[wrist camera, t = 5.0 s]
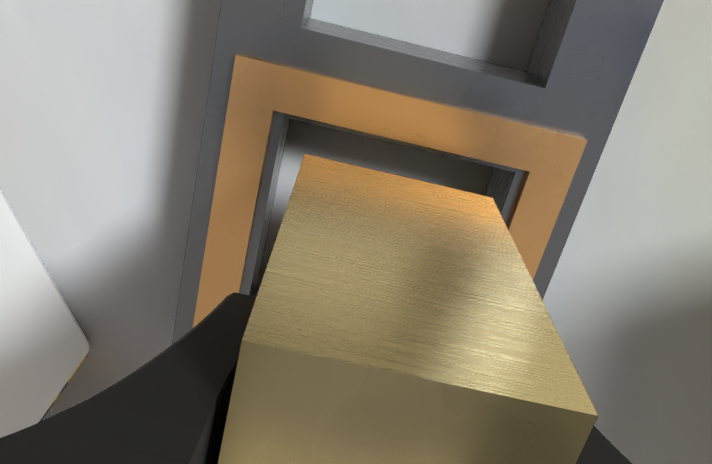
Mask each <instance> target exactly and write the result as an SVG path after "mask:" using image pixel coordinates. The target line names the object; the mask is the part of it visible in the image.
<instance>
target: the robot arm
mask: <svg viewBox="0 0 712 464" xmlns="http://www.w3.org/2000/svg"><path fill="white" fill-rule="evenodd" d="M255 300H256V297H254V296H249V295H245V294H240V293H236V292H234V293H232V294H230V295H228V296H226V298H225V299H224V300H223V301H222V302H221V303H220V304H219V305H218V306H217V307H216V308H215V309H214V310H213V311H212V312H211V313H209V314H208V315H207V316H206V317H205V318H204V319H203V320H202V321H201V322H199V323H198V324H197V325H196V326H195V327H194V328H192V329H191V330H190V331H189V332H187V333H186V334H185V335H184V336H183V337H181V338H180V339H179V340H178V341H176V342H175V343H174V344H173V345H171V346H170V347H169V348H167V349H166V350H165V351H163V352H162V353H160V354H159V355H158V356H156V357H155V358H153V359H152V360H150V361H149V362H148V363H146V364H145V365H143V366H142V367H141V368H139V369H138V370H136V371H135V372H133V373H132V374H130V375H129V376H127V377H125V378H124V379H122V380H121V381H119V382H117V383H116V384H114V385H112V386H111V387H109V388H107V389H105V390H104V391H102V392H100V393H98V394H97V395H95V396H93V397H91V398H89V399H88V400H86V401H84V402H82V403H80V404H78V405H76V406H74V407H72V408H69V409H67V410H65V411H63V412H61V413H59V414H56V415H54V416H52V417H50V418H48V419H45V420H43V421H41V422H39V423H37V424H34V425H32V426H30V427H27V428H25V429H23V430H20V431H17V432H15V433H12V434H10V435H7V436H4V437H2V438H0V464H218V460H219V455H220V449H221V444H222V439H223V434H224V429H225V424H226V419H227V414H228V409H229V403H230V398H231V393H232V388H233V383H234V378H235V373H236V368H237V363H238V357H239V352H240V347H241V342H242V338H243V335H244V332H245V329H246V327H247V324H248V321H249V318H250V315H251V312H252V309H253V306H254V303H255ZM575 464H632V463H631V462H630V461H628V460H627V459H626V458H625V457H624V456H623V455H622V454H621V453H620V452H619V451H618V450H617V449H616V448H615V447H614V446H613V445H612V444H611V443H610V442H609V441H608V440H607V439H606V438H605V437H604V436H603V435H602V434H601V433H600V432H599V431H598V430H597V429H596V427H595V426H593V428H592V430H591V432H590V434H589V436H588V438H587V440H586V442H585V445H584V447H583V449H582V451H581V453H580V455H579V457H578V459H577V461H576V463H575Z"/></svg>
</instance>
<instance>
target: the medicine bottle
mask: <svg viewBox="0 0 712 464" xmlns="http://www.w3.org/2000/svg"><path fill="white" fill-rule="evenodd" d="M89 349H90V346H89V342H88V341H87V339H86V337H85V335H84V334H83V332H82V330H81V328H80V327H79V325H78V323H77V321H76V320H75V318H74V316H73V314H72V313H71V311H70V309H69V307H68V306H67V304H66V302H65V300H64V299H63V297H62V295H61V293H60V292H59V290H58V288H57V286H56V285H55V283H54V281H53V279H52V278H51V276H50V274H49V272H48V271H47V269H46V267H45V265H44V264H43V262H42V260H41V258H40V257H39V255H38V253H37V251H36V250H35V248H34V246H33V244H32V243H31V241H30V239H29V237H28V236H27V234H26V232H25V230H24V229H23V227H22V225H21V223H20V222H19V220H18V218H17V216H16V215H15V213H14V211H13V209H12V208H11V206H10V204H9V202H8V201H7V199H6V197H5V195H4V194H3V192H2V190H1V188H0V438H2V437H4V436H7V435H10V434H12V433H15V432H17V431H20V430H23V429H25V428H27V427H30V426H32V425H34V424H37V423H39V422H41V421H42V419H43V418H44V416H45V415H46V414H47V412H48V411H49V409H50V408H51V406H52V405H53V404H54V402H55V401H56V399H57V398H58V396H59V395H60V394H61V392H62V391H63V389H64V388H65V387H66V385H67V384H68V382H69V381H70V379H71V378H72V377H73V375H74V374H75V372H76V371H77V369H78V368H79V367H80V365H81V364H82V362H83V361H84V360H85V358H86V357H87V355H88V352H89Z"/></svg>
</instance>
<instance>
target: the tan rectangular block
mask: <svg viewBox="0 0 712 464" xmlns="http://www.w3.org/2000/svg"><path fill="white" fill-rule="evenodd" d="M597 417H598V414H597V412H596V410H595V408H594V406H593V404H592V402H591V400H590V398H589V396H588V394H587V392H586V390H585V388H584V386H583V383H582V381H581V379H580V377H579V375H578V373H577V371H576V369H575V367H574V365H573V363H572V361H571V359H570V357H569V355H568V353H567V350H566V348H565V346H564V344H563V342H562V340H561V338H560V336H559V334H558V332H557V330H556V328H555V326H554V324H553V322H552V319H551V317H550V315H549V313H548V311H547V309H546V307H545V305H544V303H543V301H542V299H541V297H540V295H539V293H538V291H537V288H536V286H535V284H534V282H533V280H532V278H531V276H530V274H529V272H528V270H527V268H526V266H525V264H524V262H523V260H522V258H521V255H520V253H519V251H518V249H517V247H516V245H515V243H514V241H513V239H512V237H511V235H510V233H509V231H508V229H507V227H506V224H505V222H504V220H503V218H502V216H501V214H500V212H499V210H498V208H497V206H496V204H495V202H494V200H493V198H492V197H488V196H483V195H479V194H475V193H471V192H466V191H462V190H458V189H453V188H449V187H445V186H441V185H436V184H432V183H428V182H424V181H419V180H415V179H411V178H406V177H402V176H398V175H394V174H389V173H385V172H381V171H376V170H372V169H368V168H364V167H359V166H355V165H351V164H347V163H342V162H338V161H334V160H329V159H325V158H321V157H317V156H312V155H308V154H305V155H304V158H303V161H302V164H301V167H300V170H299V173H298V176H297V179H296V182H295V185H294V188H293V191H292V194H291V197H290V199H289V202H288V205H287V208H286V211H285V214H284V217H283V220H282V223H281V226H280V229H279V232H278V235H277V238H276V241H275V244H274V247H273V250H272V253H271V256H270V259H269V262H268V264H267V267H266V270H265V273H264V276H263V279H262V282H261V285H260V288H259V291H258V294H257V297H256V300H255V303H254V306H253V309H252V312H251V315H250V318H249V321H248V324H247V327H246V329H245V332H244V335H243V338H242V342H241V347H240V352H239V357H238V363H237V368H236V373H235V378H234V383H233V388H232V393H231V398H230V403H229V409H228V414H227V419H226V424H225V429H224V434H223V439H222V444H221V449H220V455H219V460H218V464H575V463H576V461H577V459H578V457H579V455H580V453H581V451H582V449H583V447H584V445H585V442H586V440H587V438H588V436H589V434H590V432H591V430H592V428H593V426H594V424H595V421H596V419H597Z"/></svg>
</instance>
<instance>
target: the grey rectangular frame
mask: <svg viewBox="0 0 712 464" xmlns="http://www.w3.org/2000/svg"><path fill="white" fill-rule="evenodd" d="M663 1H664V0H551V1H550V4H549V7H548V10H547V13H546V16H545V19H544V21H543V24H542V27H541V30H540V33H539V36H538V39H537V42H536V45H535V48H534V51H533V54H532V57H531V60H530V63H529V66H528V69H527V72H523V71H519V70H515V69H511V68H507V67H503V66H499V65H495V64H491V63H487V62H483V61H479V60H475V59H471V58H467V57H463V56H459V55H455V54H451V53H447V52H443V51H439V50H435V49H431V48H427V47H423V46H419V45H415V44H411V43H407V42H403V41H399V40H395V39H391V38H387V37H383V36H379V35H375V34H371V33H367V32H363V31H359V30H355V29H350V28H346V27H342V26H338V25H334V24H330V23H326V22H322V21H318V20H314V19H310V15H311V9H312V4H313V0H222V2H221V9H220V16H219V23H218V30H217V37H216V44H215V51H214V57H213V64H212V71H211V78H210V85H209V92H208V99H207V106H206V113H205V120H204V127H203V134H202V141H201V148H200V154H199V161H198V168H197V175H196V182H195V189H194V196H193V203H192V210H191V217H190V224H189V231H188V238H187V245H186V251H185V258H184V265H183V272H182V279H181V286H180V293H179V300H178V307H177V314H176V321H175V328H174V335H173V342H172V345H173V344H174V343H175V342H176V341H178V340H179V339H180V338H181V337H183V336H184V335H185V334H186V333H187V332H189V331H190V330H191V329H192V328H194V327H195V326H196V325H197V324H198V323H199V322H201V321H202V320H203V319H204V318H205V317H206V316H207V315H208V314H209V313H211V312H212V311H213V310H214V309H215V308H216V307H217V306H218V305H219V304H220V303H221V302H222V301H223V300H224V299H225V298H226V296H228V295H230V294H232V293H234V292H236V293H240V294H245V295H249V296H254V297H257V294H258V291H259V288H260V285H261V284H258V283H257V282H258V277H259V272H260V267H261V262H262V257H263V252H264V247H265V242H266V237H267V232H268V226H269V221H270V216H271V211H272V206H273V201H274V196H275V191H276V186H277V181H278V176H279V171H280V166H281V161H282V156H283V151H284V146H285V141H286V136H287V131H288V126H289V120H290V119H293V120H298V121H302V122H306V123H310V124H314V125H319V126H323V127H327V128H331V129H335V130H340V131H344V132H348V133H352V134H356V135H361V136H365V137H369V138H373V139H377V140H382V141H386V142H390V143H394V144H398V145H403V146H407V147H411V148H415V149H419V150H424V151H428V152H432V153H436V154H440V155H445V156H449V157H453V158H457V159H461V160H466V161H470V162H474V163H478V164H482V165H487V166H491V167H494V170H493V173H492V175H491V178H490V181H489V184H488V187H487V190H486V193H485V196H488V197H492V198H493V200H494V202H495V204H496V206H497V208H498V210H499V212H500V214H501V216H502V218H503V220H504V222H505V224H506V227H507V229H508V231H509V233H510V235H511V237H512V239H513V241H514V243H515V245H516V247H517V249H518V251H519V253H520V255H521V258H522V260H523V262H524V264H525V266H526V268H527V270H528V272H529V274H530V276H531V278H532V280H533V282H534V284H535V286H536V288H537V291H538V293H539V295H540V297H541V299H542V300H543V298H544V295H545V293H546V290H547V288H548V285H549V283H550V280H551V278H552V275H553V273H554V270H555V268H556V265H557V263H558V260H559V258H560V255H561V253H562V251H563V248H564V246H565V243H566V241H567V238H568V236H569V233H570V231H571V228H572V226H573V223H574V221H575V218H576V216H577V213H578V211H579V208H580V206H581V203H582V201H583V199H584V196H585V194H586V191H587V189H588V186H589V184H590V181H591V179H592V176H593V174H594V171H595V169H596V166H597V164H598V161H599V159H600V156H601V154H602V152H603V149H604V147H605V144H606V142H607V139H608V137H609V134H610V132H611V129H612V127H613V124H614V122H615V119H616V117H617V114H618V112H619V109H620V107H621V105H622V102H623V100H624V97H625V95H626V92H627V90H628V87H629V85H630V82H631V80H632V77H633V75H634V72H635V70H636V67H637V65H638V62H639V60H640V57H641V55H642V53H643V50H644V48H645V45H646V43H647V40H648V38H649V35H650V33H651V30H652V28H653V25H654V23H655V20H656V18H657V15H658V13H659V10H660V8H661V6H662V3H663Z"/></svg>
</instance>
